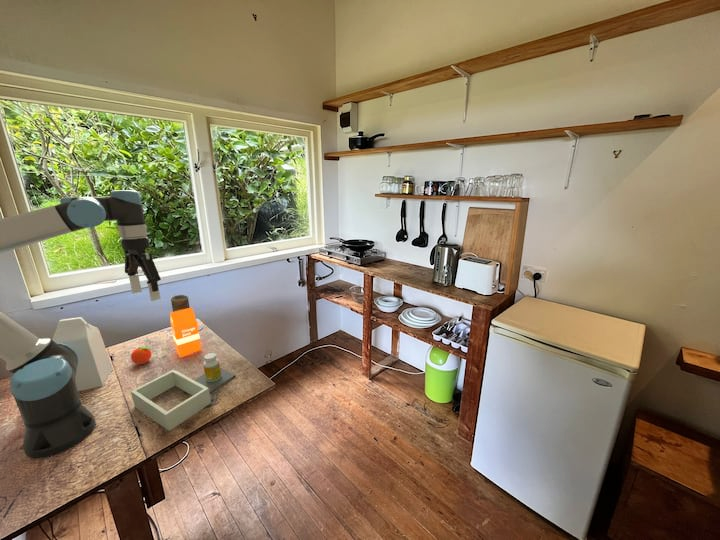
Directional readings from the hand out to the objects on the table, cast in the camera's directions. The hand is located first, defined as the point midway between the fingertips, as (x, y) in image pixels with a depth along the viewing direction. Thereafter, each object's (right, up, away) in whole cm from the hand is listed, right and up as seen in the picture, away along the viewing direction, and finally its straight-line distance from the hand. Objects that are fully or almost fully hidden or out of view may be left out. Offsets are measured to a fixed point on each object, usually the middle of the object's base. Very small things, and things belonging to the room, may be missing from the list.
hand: (146, 296), depth 106 cm
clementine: (-15, -30, +19) cm, 39 cm away
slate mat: (+20, -33, +8) cm, 40 cm away
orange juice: (-1, -27, +28) cm, 39 cm away
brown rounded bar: (-11, -23, +43) cm, 50 cm away
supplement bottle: (+20, -33, +8) cm, 39 cm away
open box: (+13, -37, -5) cm, 39 cm away
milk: (-27, -33, +7) cm, 44 cm away
